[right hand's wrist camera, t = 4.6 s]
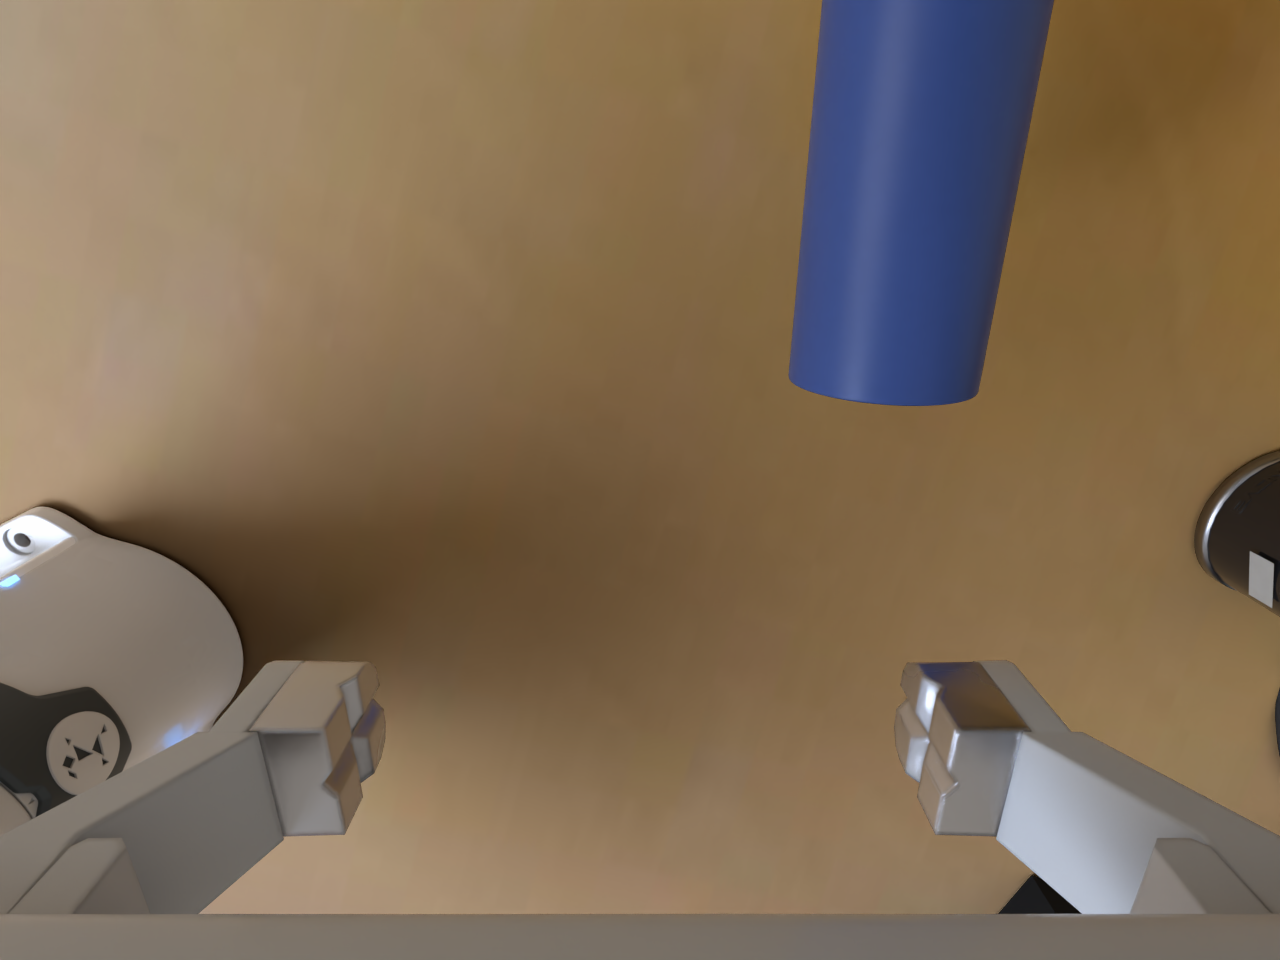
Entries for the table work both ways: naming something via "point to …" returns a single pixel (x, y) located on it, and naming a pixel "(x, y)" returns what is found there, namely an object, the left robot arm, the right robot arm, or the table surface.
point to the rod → (911, 193)
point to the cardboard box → (1038, 900)
